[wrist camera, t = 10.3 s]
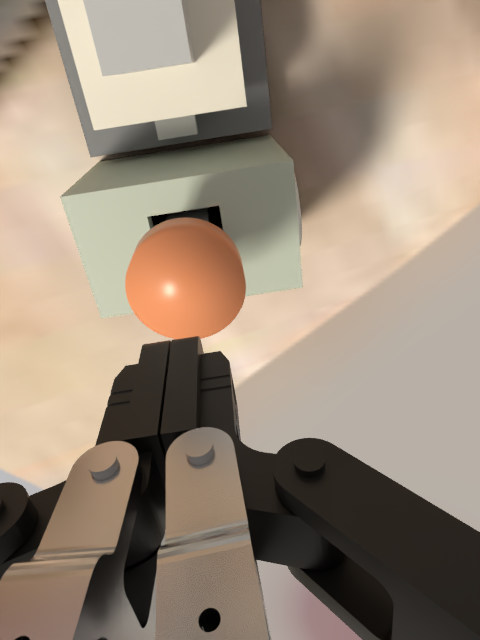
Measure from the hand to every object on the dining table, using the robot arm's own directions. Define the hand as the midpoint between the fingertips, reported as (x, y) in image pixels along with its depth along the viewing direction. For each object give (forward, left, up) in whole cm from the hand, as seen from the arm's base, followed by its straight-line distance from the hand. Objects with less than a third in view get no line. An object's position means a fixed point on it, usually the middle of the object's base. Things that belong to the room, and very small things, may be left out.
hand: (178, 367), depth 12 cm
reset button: (0, 0, -11) cm, 11 cm away
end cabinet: (0, 0, -18) cm, 18 cm away
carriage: (0, -9, -16) cm, 18 cm away
